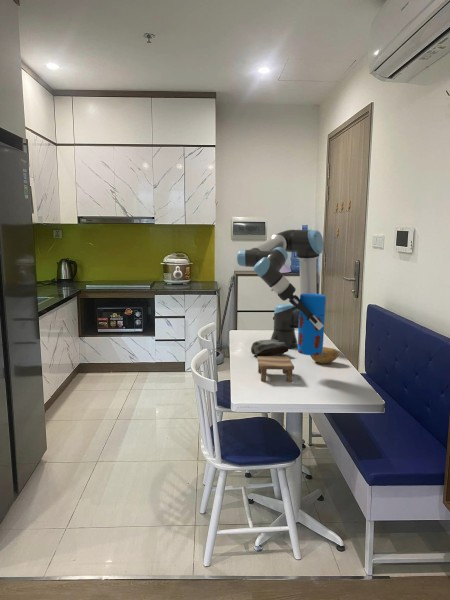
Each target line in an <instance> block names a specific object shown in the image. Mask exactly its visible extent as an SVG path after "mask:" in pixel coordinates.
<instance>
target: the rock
mask: <svg viewBox="0 0 450 600" xmlns="http://www.w3.org/2000/svg"><path fill="white" fill-rule="evenodd" d="M289 350H290V348H288V347H286V343H285V342H280V340H275V339H272V340H270V339H259V340H257V341H254V342H253V343H252V345H251V347H250V352H251V354H252V355H254V356H255V357H257V356H273V357H277V356H280V355H281V356H282V355H283V354H285V353H288V352H289Z"/></svg>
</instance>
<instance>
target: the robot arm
mask: <svg viewBox="0 0 450 600" xmlns="http://www.w3.org/2000/svg"><path fill="white" fill-rule="evenodd" d="M323 250H324V238H323V235H322V233H321V232H320V231H319V230H314V229H286V230H284V231H281V232H278V233H276V234H273V235H272V236H271V237H270V238H269V239H268V240H266V241H265V242H262V243H260V244H258V245H256V246H254V247H253V248H250V249H240V250H239V251H238V252H237V255H236V263H237V265H239V266H240V267H245V268H247V267H248V268H253V271H254V272H255V273H256V274H257V276H258V277H259V278H260V279H261V280H262V281H264V282H265V283H266V285H268V287H269V288H270V291H271V292H274V293H275V295H277V297H279V299H280V300H281V301H287V300H288V299H289V300H288V302H289V303H281V304H277V305H275V307H274V313H273V332H272V334H271V337H270V339H269V340H272V339H275V340H280V342H285V343H286V347H288V348H289V349H293V348H296V347H298V338H297V337H296V331H295V330H296V329H298V325H299V309H300V310H301V311H302V312H303V313H304V315H305V316H306V317H307V320H310V321H311V322H312V323H313V324H314V326H315V327H316V328H317V329H318V330H320V329H321V328H322V327H323V324H322V323H321V322H320V321H319V320H318V319H317V318H316V317H315V316H314V315H313V314H312V313H311V312H310V311H309V310H308V309H307V308H306V307H305V306H304V305H303V303H302V301H301V300H300V295H301V294H306V293H312V294H318V293H317V292H318V291H317V259H318V258H319V257H320V255H321V254H322V253H323ZM288 253H295V255H296V258H297V260H299V296H298V295H297V294H294V293H295V292H296V290H297V289H296V287H295V286H294V285H293V284H292V283H290V280H289V279H287V277H286V276H285V275H284V274H282V272H281V269H282V268H283V267H284V265H285V264H286V261H287V260H288V257H289V254H288ZM309 314H310V315H309ZM308 315H309V316H308Z"/></svg>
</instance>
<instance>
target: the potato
mask: <svg viewBox="0 0 450 600" xmlns="http://www.w3.org/2000/svg"><path fill="white" fill-rule="evenodd" d="M309 357H310V358H311V359H312V360H313V361H314V362H316V363H318V364H322V365H323V364H328V363H329V364H330V363H331V362H334V361H335V360H336V359H338V357H339V351H338V350H337V349H336V348H333V347H326V346H323V349H322V354H320V355H309Z"/></svg>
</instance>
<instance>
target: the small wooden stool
mask: <svg viewBox="0 0 450 600" xmlns="http://www.w3.org/2000/svg"><path fill="white" fill-rule="evenodd" d="M256 359H257V363H258V364H257V365H258V368H257V373H258V374H260V382H267V370H281V371H282V374H286V382H289V383H292V382H293V371H294V370H295V366H294V364H293V362H292V361H291V359H290V357H289V356H256Z"/></svg>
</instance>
